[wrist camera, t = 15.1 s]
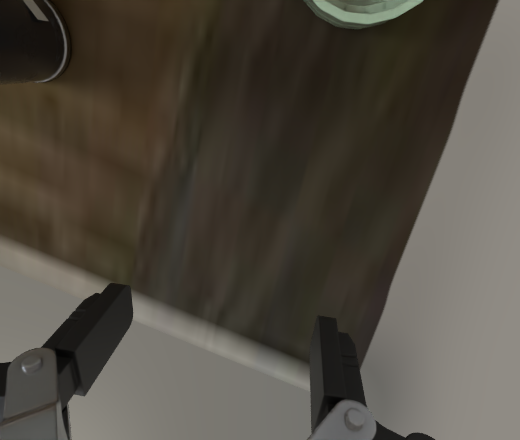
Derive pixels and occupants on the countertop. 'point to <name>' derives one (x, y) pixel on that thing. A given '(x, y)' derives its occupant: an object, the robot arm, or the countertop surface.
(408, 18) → the countertop surface
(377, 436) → the robot arm
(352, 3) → the bowl
